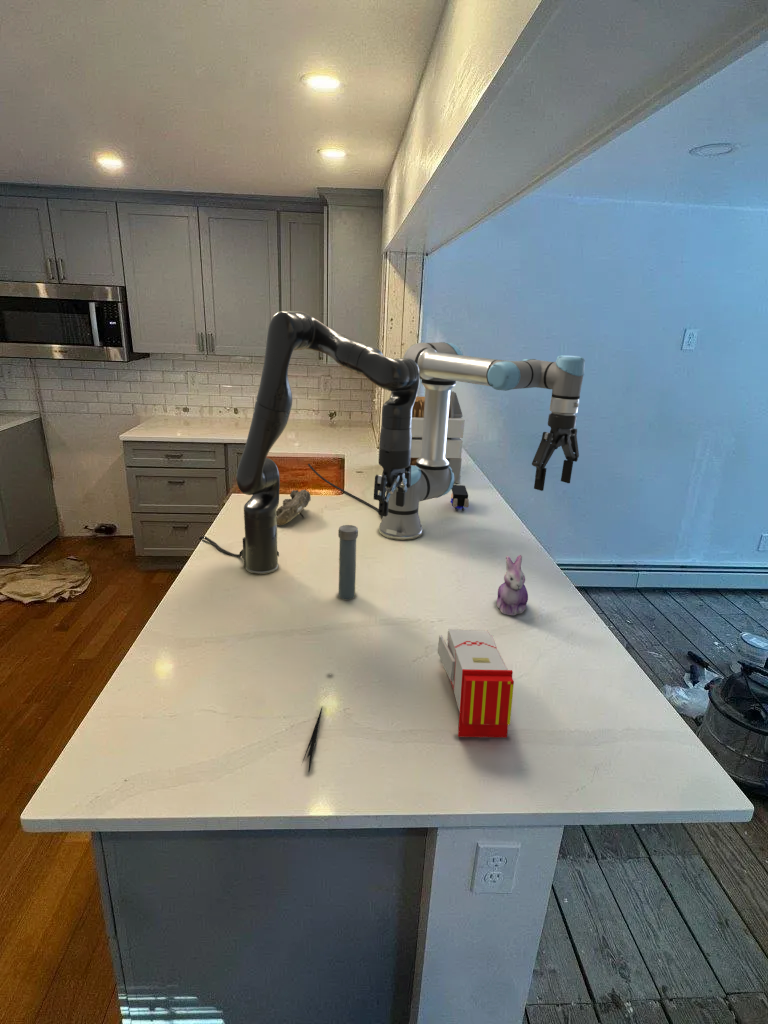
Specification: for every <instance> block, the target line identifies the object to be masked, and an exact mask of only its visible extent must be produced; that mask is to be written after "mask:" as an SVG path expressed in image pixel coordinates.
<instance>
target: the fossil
mask: <svg viewBox="0 0 768 1024" xmlns="http://www.w3.org/2000/svg"><path fill="white" fill-rule="evenodd" d="M289 497H290V498H285V499H284V500H282V505H281V506H278V507H277V526H283V525H286V524H288V523H289V522H291V521H292V520H294V518H296V517H297V516H299V515H300V516H301V518H305V517H304V515H303V514H302V511H303V510H304V509H305V508H307V506H308V504H309V502H311V494H310V492H309V491H307V490H306V489H301V490H300V491H299V490H298V489H296V490H295V489H293V490H291V492H290V495H289Z"/></svg>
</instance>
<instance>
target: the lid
mask: <svg viewBox="0 0 768 1024" xmlns="http://www.w3.org/2000/svg"><path fill="white" fill-rule="evenodd" d="M337 535H338V538H339V540H340V539H342V540H355V539H357V540H358V536H359V529H358V526H355V525H352V524H343V525H340V526H339V527H338V534H337Z"/></svg>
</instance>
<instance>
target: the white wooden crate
mask: <svg viewBox="0 0 768 1024" xmlns="http://www.w3.org/2000/svg"><path fill="white" fill-rule="evenodd" d="M424 404H425V396H417V395H416V399H415V402H414V405H413V409H412V425H411V433H412V442H411V458H410V465H413V466H416V461H417V459H418V458H420V457H421V449H422V434H423V419H424ZM464 429H465V419H464V418H463V411H462V408H461V405H460V402H459V398H458V395H457V392H455V391H453V390H451V392H450V404H449V416H448V428H447V441H446V453H445V458H446V459H447V461H448V462H449V466H450V467H451V469H452V473H454V484H455V483H456V484H459V483H461V472H462V461H463V460H462V453H463V442H464V441H463V440H462V439H463V438H464V431H465V430H464Z"/></svg>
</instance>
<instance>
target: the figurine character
mask: <svg viewBox="0 0 768 1024" xmlns="http://www.w3.org/2000/svg"><path fill="white" fill-rule="evenodd" d="M449 502H450V504H451V506H452V507H453V508H454V511H456V512H457V511H458V509H461V511H462V512H464V511H465V508H469V505H470V500H469V492H468V490H467V488H466V485H464V484H463V485H461V484H453V487H452V489H451V494H450V501H449Z"/></svg>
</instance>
